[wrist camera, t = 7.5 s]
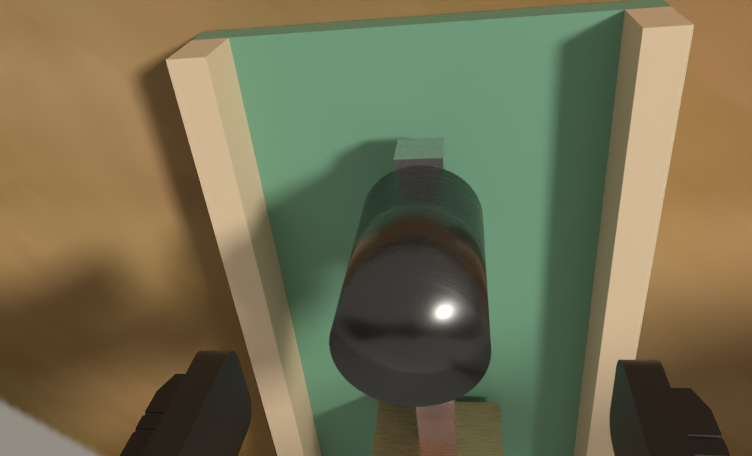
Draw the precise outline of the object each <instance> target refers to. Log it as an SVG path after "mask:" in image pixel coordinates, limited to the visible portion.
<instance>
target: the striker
mask: <svg viewBox="0 0 752 456" xmlns="http://www.w3.org/2000/svg"><path fill="white" fill-rule="evenodd" d="M393 161H394V171H393V172H391V173H389V174H387V175H385V176H384V177H382V178H381V179H380V180H379V181H378V182H377V183H376V184H375V185H374V186H373V187H372V188H371V190H370V192H369V193H368V195H367V197H366V200H365V202H364V206H363V210H362V214H361V218H360V221H359V225H358V229H357V233H356V237H355V240H354V244H353V248H352V252H351V256H350V259H349V263H348V267H347V271H346V274H345V278H344V282H343V286H342V290H341V293H340V297H339V301H338V305H337V309H336V312H335V316H334V320H333V324H332V328H331V331H330V336H329V347H330V353H331V357H332V359H333V362H334V364H335V366H336V367H337V369H338V370H339V372H340V373H341V374H342V376H343V377H344V378H345V379H346V380H347V381H348V382H349V383H350V384H351V385H353V386H354V387H355V388H357V389H358V390H359V391H361V392H363V393H364V394H366V395H368V396H370V397H372V398H375V399H377V400H379V407H378V414H377V421H376V428H375V435H374V442H373V449H372V455H371V456H504V454H503V440H502V426H501V412H500V403H485V402H455V399H457V398H459V397H461V396H463V395H465V394H466V393H468V392H469V391H470V390H472V389H473V388H474V387H475V386H476V385H477V384H478V383H479V382H480V381H481V380H482V378H483V377H484V375H485V374H486V372H487V369H488V367H489V364H490V360H491V338H490V322H489V305H488V289H487V273H486V257H485V240H484V224H483V211H482V207H481V203H480V201H479V198H478V197H477V195H476V193H475V191H474V190H473V189H472V188H471V186H470V185H469V184H468V183H467V182H465V181H464V180H463V179H462V178H460V177H459V176H458V175H456V174H454V173H452V172H450V171H447V170H445V147H444V138H421V139H398V140H397V145H396V150H395V155H394V159H393Z"/></svg>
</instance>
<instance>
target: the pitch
mask: <svg viewBox="0 0 752 456" xmlns="http://www.w3.org/2000/svg"><path fill="white" fill-rule="evenodd" d="M693 28H694V24H693V23H691V22H690V21H689V20H687V19H686V18H685V17H684V16H682V15H681V14H680V13H679V12H677V11H676V10H675V9H673V8H672V7H671V6H670V5H668V4H667V3H666V2H665V1H663V0H632V1H618V2H605V3H591V4H577V5H564V6H550V7H536V8H522V9H509V10H495V11H481V12H468V13H454V14H440V15H427V16H413V17H399V18H386V19H372V20H358V21H344V22H331V23H317V24H303V25H290V26H276V27H262V28H249V29H235V30H221V31H208V32H202V33H201V34H200V35H198V36H197V37H196V38H194V39H193V40H192V41H190V42H189V43H187V44H186V45H185V46H183V47H182V48H181V49H179V50H178V51H177V52H175V53H174V54H173V55H171V56H170V57H169V58H167V59H166V63H167V67H168V70H169V74H170V77H171V81H172V84H173V88H174V91H175V95H176V98H177V102H178V106H179V109H180V113H181V116H182V120H183V123H184V127H185V130H186V134H187V137H188V141H189V144H190V148H191V152H192V155H193V159H194V162H195V166H196V169H197V173H198V176H199V180H200V183H201V187H202V190H203V194H204V198H205V201H206V205H207V208H208V212H209V215H210V219H211V222H212V226H213V229H214V233H215V236H216V240H217V244H218V247H219V251H220V254H221V258H222V261H223V265H224V268H225V272H226V275H227V279H228V282H229V286H230V290H231V293H232V297H233V300H234V304H235V307H236V311H237V314H238V318H239V321H240V325H241V328H242V332H243V336H244V339H245V343H246V346H247V350H248V353H249V357H250V360H251V364H252V367H253V371H254V374H255V378H256V382H257V385H258V389H259V392H260V396H261V399H262V403H263V406H264V410H265V413H266V417H267V420H268V424H269V428H270V431H271V435H272V438H273V442H274V445H275V449H276V452H277V456H371V455H372V449H373V442H374V435H375V428H376V421H377V414H378V407H379V400H377V399H375V398H372V397H370V396H368V395H366V394H364V393H363V392H361V391H359V390H358V389H357V388H355V387H354V386H353V385H351V384H350V383H349V382H348V381H347V380H346V379H345V378H344V377H343V376H342V374H341V373H340V372H339V370H338V369H337V367H336V366H335V364H334V362H333V359H332V357H331V353H330V347H329V336H330V331H331V328H332V324H333V320H334V316H335V312H336V309H337V305H338V301H339V297H340V293H341V290H342V286H343V282H344V278H345V274H346V271H347V267H348V263H349V259H350V256H351V252H352V248H353V244H354V240H355V237H356V233H357V229H358V225H359V221H360V218H361V214H362V210H363V206H364V202H365V200H366V197H367V195H368V193H369V192H370V190H371V188H372V187H373V186H374V185H375V184H376V183H377V182H378V181H379V180H380V179H381V178H382V177H384V176H385V175H387V174H389V173H391V172H393V171H394V161H393V159H394V155H395V150H396V145H397V140H398V139H421V138H444V147H445V170H447V171H450V172H452V173H454V174H456V175H458V176H459V177H460V178H462V179H463V180H464V181H465V182H467V183H468V184H469V185H470V186H471V188H472V189H473V190H474V191H475V193H476V195H477V197H478V198H479V201H480V203H481V207H482V211H483V224H484V240H485V257H486V273H487V289H488V305H489V322H490V338H491V360H490V364H489V367H488V369H487V372H486V374H485V375H484V377H483V378H482V380H481V381H480V382H479V383H478V384H477V385H476V386H475V387H474V388H473V389H472V390H470V391H469V392H468V393H466V394H465V395H463V396H461V397H459V398H457V399H455V402H485V403H500V412H501V426H502V440H503V454H504V456H615V455H614V451H613V446H612V442H611V435H610V407H611V400H612V393H613V386H614V379H615V372H616V365H617V362H618V360H636V354H637V348H638V342H639V337H640V331H641V325H642V320H643V314H644V308H645V302H646V297H647V291H648V285H649V280H650V274H651V268H652V263H653V257H654V251H655V245H656V240H657V234H658V228H659V223H660V217H661V211H662V205H663V200H664V194H665V188H666V183H667V177H668V171H669V165H670V160H671V154H672V148H673V143H674V137H675V131H676V125H677V120H678V114H679V108H680V103H681V97H682V91H683V86H684V80H685V74H686V68H687V63H688V57H689V51H690V46H691V40H692V34H693Z"/></svg>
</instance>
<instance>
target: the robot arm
mask: <svg viewBox="0 0 752 456" xmlns="http://www.w3.org/2000/svg"><path fill="white" fill-rule="evenodd" d="M250 419H251V399H250V395H249V392H248V389H247V385H246V382H245V379H244V375H243V372H242V369H241V365H240V362H239V359H238V356H237V354H236V353H235V352H234V351H199V352H198V353H197V354H196V356H195V357H194V359H193V361H192V363H191V365H190V367H189V368H188V370H187V372H186V374H175V375H174V376H173V377H172V378H171V379H170V380H169V381H167V382H166V383H165V384H164V385H163V386H162V387H161V388H160V389H159V390H158V391H157V392H156V394H155V395H154V397H153V399H152V401H151V402H150V404H149V406H148V408H147V409H146V411H145V416H142V418H141V420H140V421H139V423H138V425H137V427H136V431H135V432H133V434H132V435H131V437H130V439H129V441H128V442H127V444H126V446H125V448H124V449H123V451H122V453H121V455H120V456H238V454H239V451H240V448H241V446H242V443H243V441H244V438H245V435H246V433H247V430H248V427H249V424H250ZM610 435H611V442H612V446H613V451H614V455H615V456H730V454H729V451H728V449H727V446H726V444H725V442H724V440H723V439H722V437H721V432H720V430H719V427H718V425H717V423H716V420H715V418H714V416H713V413H712V411H711V409H710V408H709V407H708V406H707V405H706V404H705V403H704V402H703V401H702V400H701V399H700V398H699V397H698V396H697V395H696V394H695V393H694V392H693V390H692V389H691V388H670V385H669V382H668V380H667V377H666V374H665V371H664V369H663V366H662V364H661V362H660V361H658V360H618V362H617V365H616V372H615V379H614V386H613V393H612V400H611V407H610Z"/></svg>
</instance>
